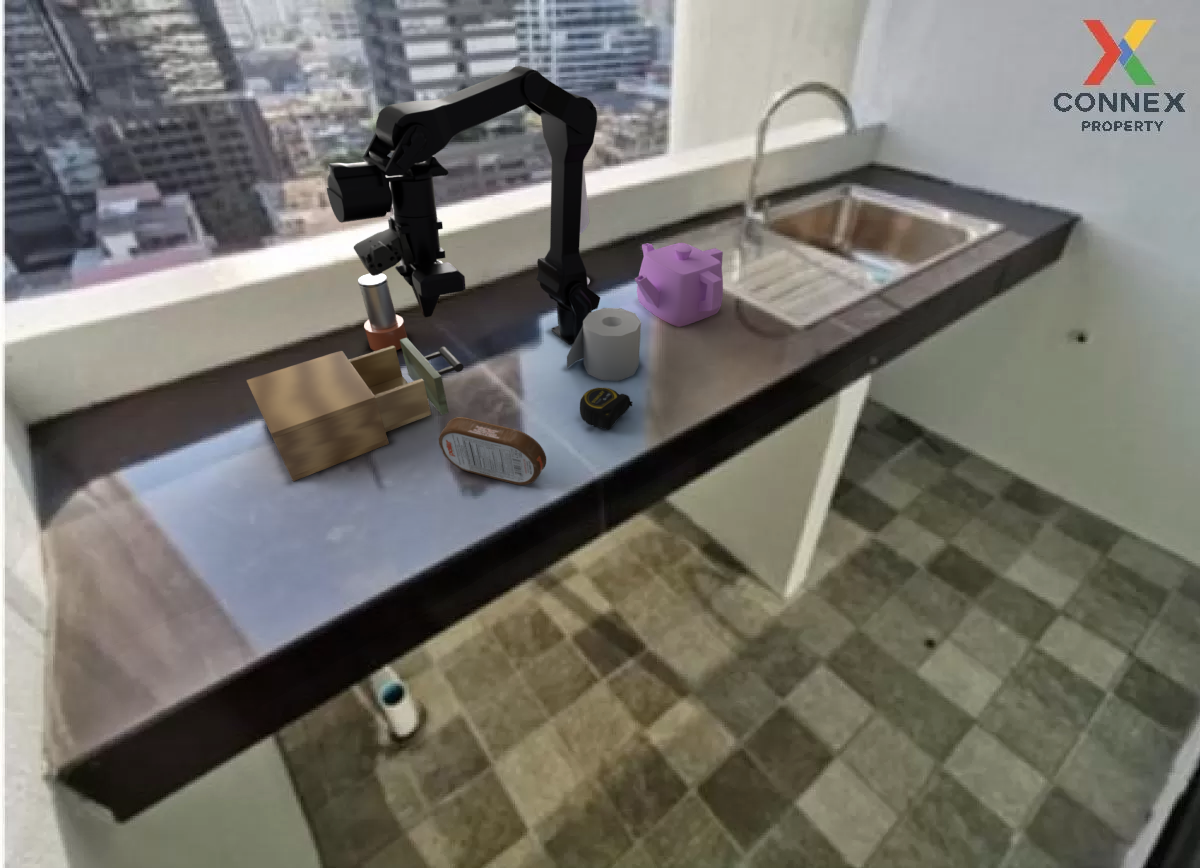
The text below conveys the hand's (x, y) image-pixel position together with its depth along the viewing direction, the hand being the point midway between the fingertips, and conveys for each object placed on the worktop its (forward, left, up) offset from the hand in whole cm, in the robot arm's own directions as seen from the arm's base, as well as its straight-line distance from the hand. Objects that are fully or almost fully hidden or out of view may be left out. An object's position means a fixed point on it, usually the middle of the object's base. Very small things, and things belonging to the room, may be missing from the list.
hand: (427, 316), depth 92 cm
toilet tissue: (-11, -25, -13) cm, 30 cm away
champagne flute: (+19, -39, -13) cm, 45 cm away
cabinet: (-2, +19, -13) cm, 23 cm away
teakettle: (-2, -49, -13) cm, 51 cm away
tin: (-24, +3, -13) cm, 27 cm away
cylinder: (+18, +2, -9) cm, 20 cm away
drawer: (-2, +6, -12) cm, 14 cm away
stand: (+18, +2, -13) cm, 22 cm away
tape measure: (-23, -17, -13) cm, 31 cm away
